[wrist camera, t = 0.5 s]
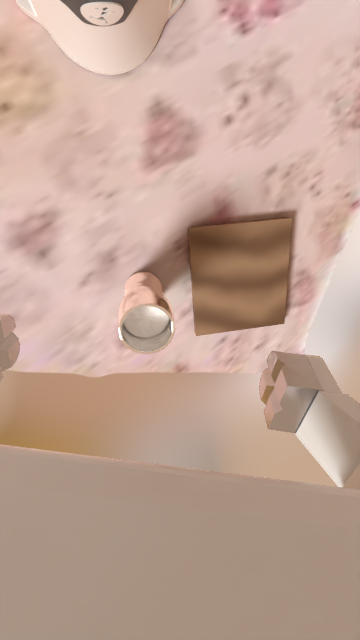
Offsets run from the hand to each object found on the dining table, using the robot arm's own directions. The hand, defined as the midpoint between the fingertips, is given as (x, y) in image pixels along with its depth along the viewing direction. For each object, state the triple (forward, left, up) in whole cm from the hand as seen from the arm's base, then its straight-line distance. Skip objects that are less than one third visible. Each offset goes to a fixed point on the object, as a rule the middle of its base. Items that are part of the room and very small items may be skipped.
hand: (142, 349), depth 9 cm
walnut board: (+10, +16, -38) cm, 42 cm away
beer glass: (+10, 0, -38) cm, 39 cm away
